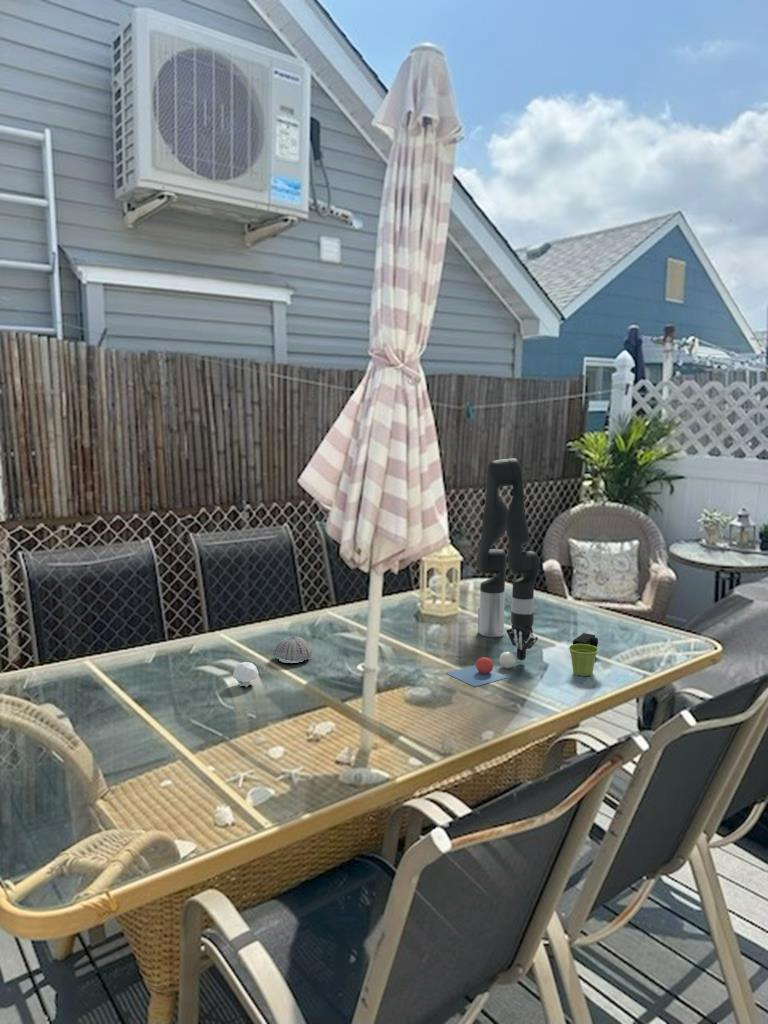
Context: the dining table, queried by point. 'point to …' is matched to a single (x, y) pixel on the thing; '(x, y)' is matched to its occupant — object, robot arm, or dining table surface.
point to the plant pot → (583, 658)
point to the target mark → (475, 676)
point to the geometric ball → (245, 672)
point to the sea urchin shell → (293, 649)
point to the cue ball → (507, 659)
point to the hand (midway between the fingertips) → (521, 659)
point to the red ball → (484, 665)
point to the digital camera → (586, 640)
